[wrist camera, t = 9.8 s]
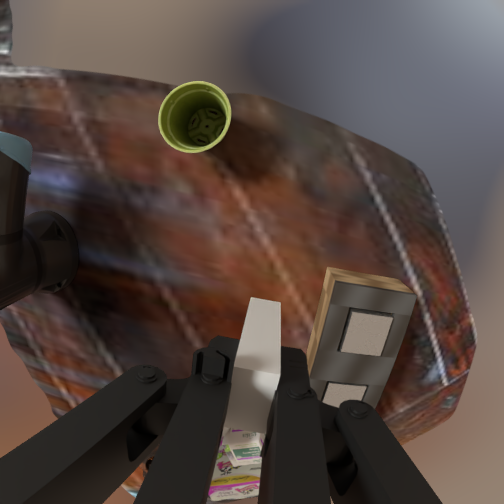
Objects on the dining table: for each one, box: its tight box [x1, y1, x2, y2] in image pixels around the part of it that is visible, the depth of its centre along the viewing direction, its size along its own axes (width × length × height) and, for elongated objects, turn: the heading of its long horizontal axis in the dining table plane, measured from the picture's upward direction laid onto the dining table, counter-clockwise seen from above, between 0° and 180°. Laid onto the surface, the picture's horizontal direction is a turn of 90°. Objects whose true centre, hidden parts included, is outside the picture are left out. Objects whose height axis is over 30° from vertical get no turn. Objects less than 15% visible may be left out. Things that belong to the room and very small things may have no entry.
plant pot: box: [158, 81, 231, 153], centre depth 41 cm, size 9×9×9 cm
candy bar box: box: [208, 436, 261, 501], centre depth 48 cm, size 11×5×16 cm, turn 112°
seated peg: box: [321, 381, 367, 408], centre depth 48 cm, size 6×6×8 cm
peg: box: [339, 307, 393, 356], centre depth 45 cm, size 6×6×8 cm
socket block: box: [306, 267, 417, 409], centre depth 47 cm, size 12×25×8 cm, turn 171°
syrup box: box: [222, 427, 267, 467], centre depth 47 cm, size 6×6×14 cm
